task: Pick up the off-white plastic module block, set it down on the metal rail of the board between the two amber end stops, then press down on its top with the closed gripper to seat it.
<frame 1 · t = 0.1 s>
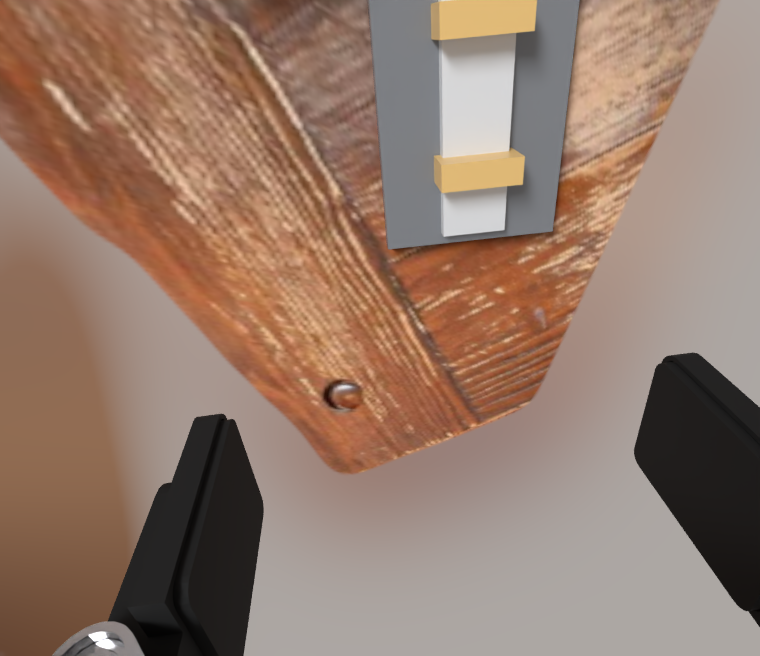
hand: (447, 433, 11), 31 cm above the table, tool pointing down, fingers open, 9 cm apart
rail board: (468, 94, 36), on the table
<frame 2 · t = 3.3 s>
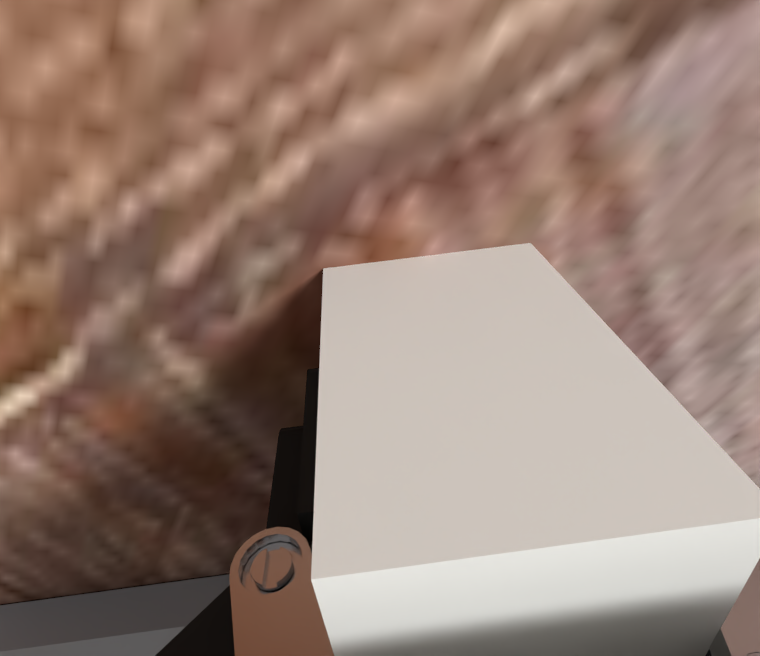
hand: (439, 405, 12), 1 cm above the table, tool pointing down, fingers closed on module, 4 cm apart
module: (433, 380, 12), on the table, touching gripper
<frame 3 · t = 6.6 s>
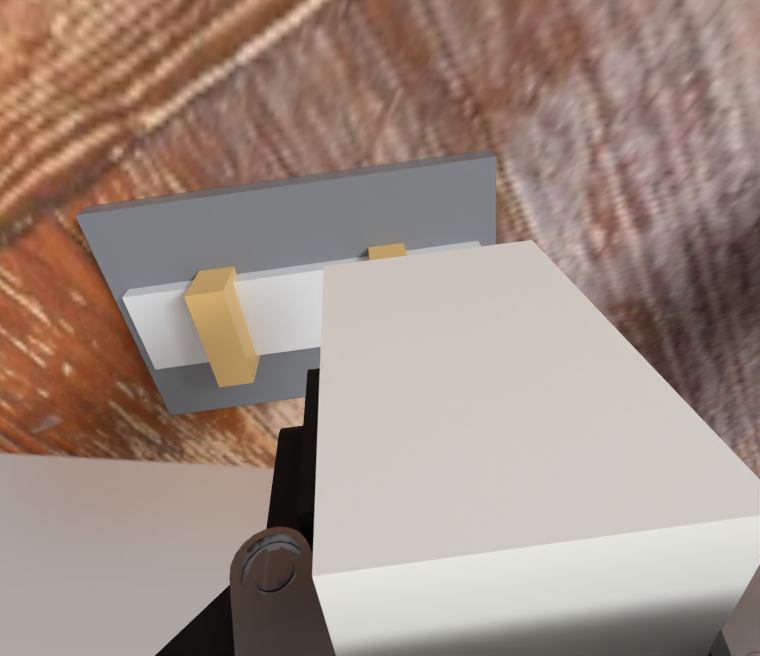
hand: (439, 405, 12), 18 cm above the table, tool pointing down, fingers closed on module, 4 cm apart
rail board: (312, 291, 30), on the table
module: (433, 378, 12), point 17 cm above the table, touching gripper
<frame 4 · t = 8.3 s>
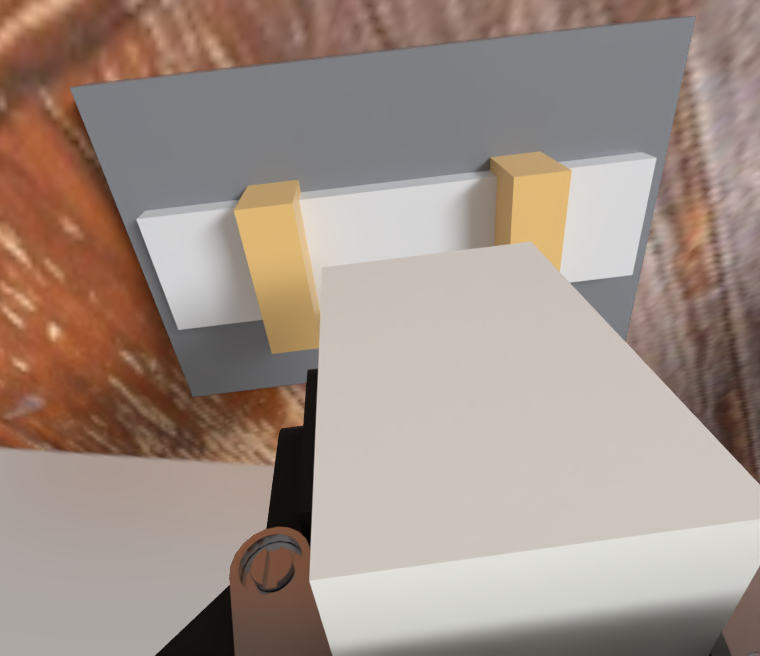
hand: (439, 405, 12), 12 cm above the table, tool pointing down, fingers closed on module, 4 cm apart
rail board: (396, 227, 22), on the table
module: (433, 380, 12), point 11 cm above the table, touching gripper
when the fingers open (5 cm above the table, at t = 9.9 s): module drops 1 cm, resting on rail board.
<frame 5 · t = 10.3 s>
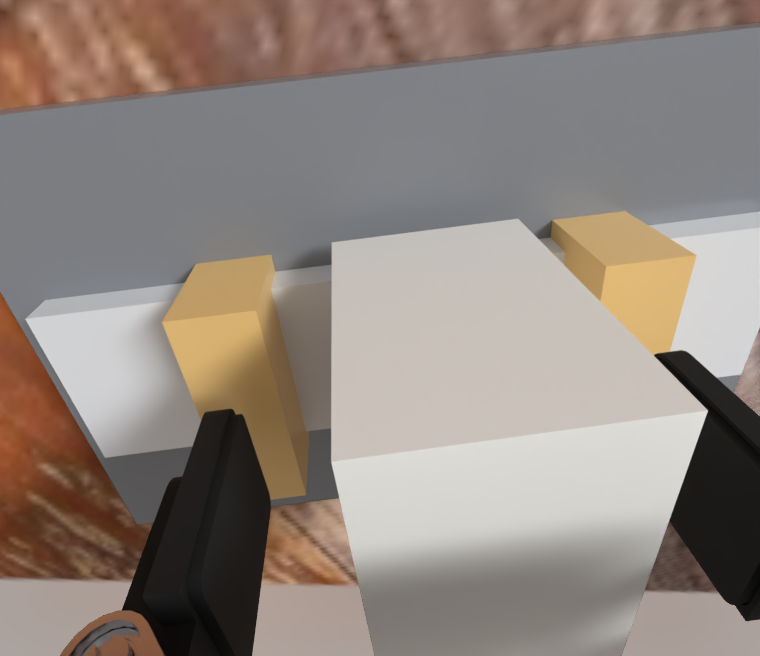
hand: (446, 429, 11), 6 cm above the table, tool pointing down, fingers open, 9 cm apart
rail board: (411, 306, 16), on the table
module: (431, 347, 14), point 2 cm above the table, touching rail board
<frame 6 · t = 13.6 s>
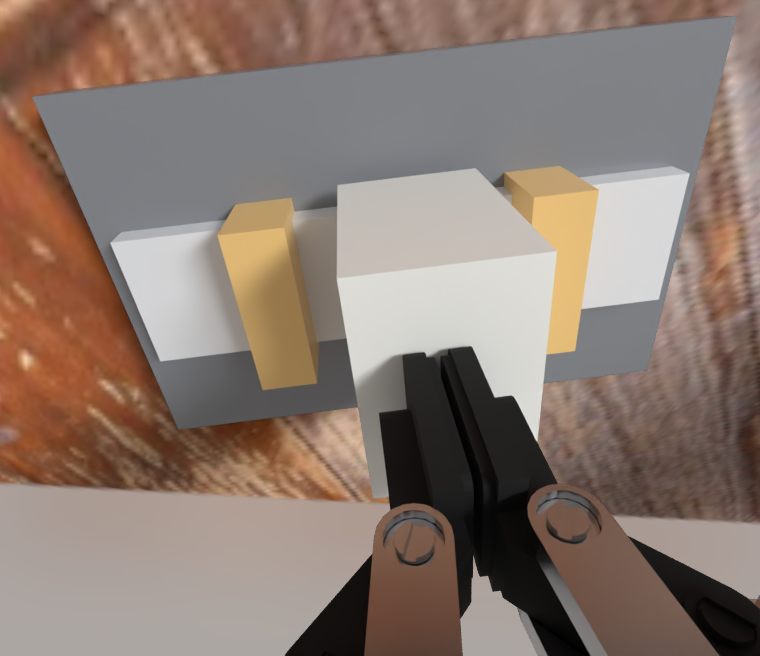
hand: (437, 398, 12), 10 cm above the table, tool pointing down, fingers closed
rail board: (399, 247, 20), on the table
module: (413, 272, 18), point 3 cm above the table, touching gripper, rail board
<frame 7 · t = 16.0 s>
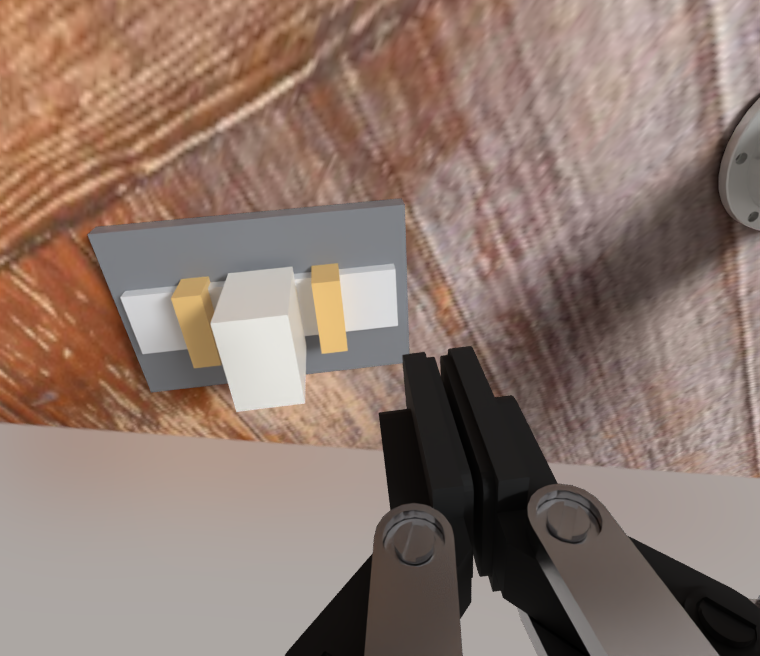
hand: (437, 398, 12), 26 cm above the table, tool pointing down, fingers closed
rail board: (269, 296, 39), on the table
module: (269, 311, 36), point 2 cm above the table, touching rail board
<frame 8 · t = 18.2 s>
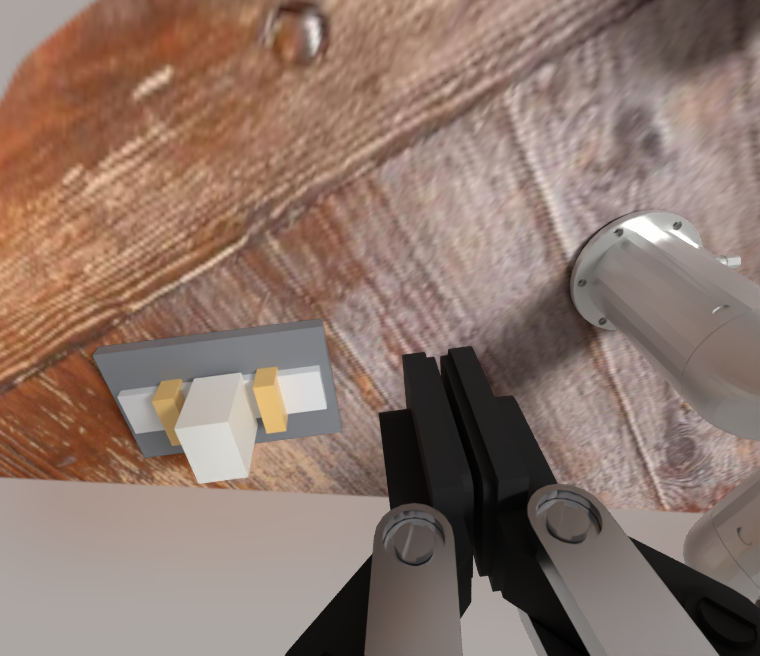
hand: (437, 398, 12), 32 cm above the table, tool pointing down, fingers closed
rail board: (229, 387, 51), on the table
module: (227, 402, 49), point 2 cm above the table, touching rail board
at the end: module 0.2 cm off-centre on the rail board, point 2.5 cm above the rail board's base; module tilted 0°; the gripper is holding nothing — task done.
